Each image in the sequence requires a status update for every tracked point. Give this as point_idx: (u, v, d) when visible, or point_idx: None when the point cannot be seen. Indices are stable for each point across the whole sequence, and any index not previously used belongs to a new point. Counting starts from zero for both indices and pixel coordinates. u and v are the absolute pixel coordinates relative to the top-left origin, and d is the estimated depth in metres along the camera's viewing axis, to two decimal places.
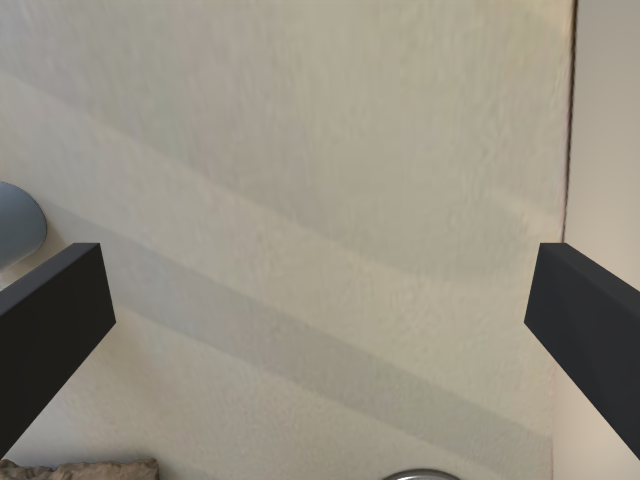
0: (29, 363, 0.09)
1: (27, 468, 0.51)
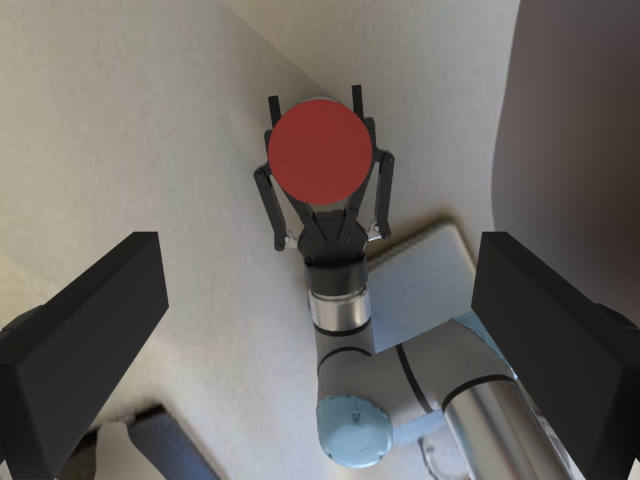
0: (110, 338, 0.10)
1: None
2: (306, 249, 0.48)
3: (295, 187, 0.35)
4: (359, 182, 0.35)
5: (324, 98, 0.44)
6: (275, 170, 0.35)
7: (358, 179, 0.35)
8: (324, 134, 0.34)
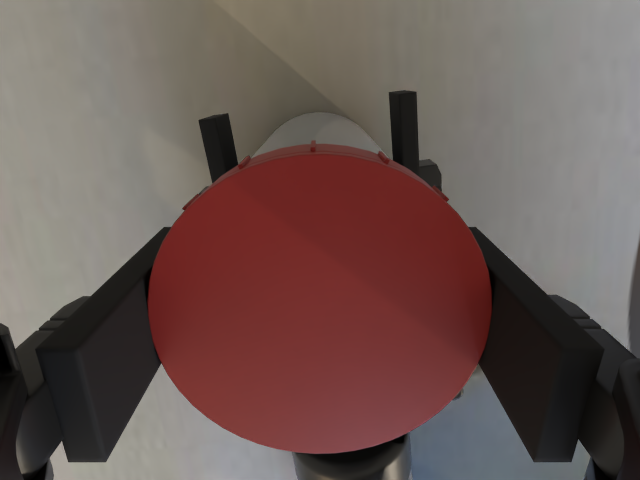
0: None
1: None
2: None
3: (243, 413, 0.11)
4: (443, 400, 0.11)
5: (329, 120, 0.20)
6: (177, 369, 0.11)
7: (441, 393, 0.11)
8: (334, 267, 0.10)
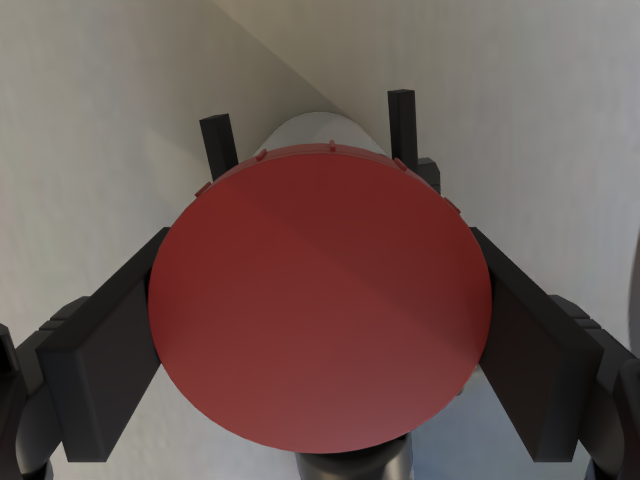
0: None
1: None
2: None
3: (459, 321, 0.10)
4: (306, 163, 0.09)
5: (329, 119, 0.20)
6: (445, 392, 0.11)
7: (300, 174, 0.09)
8: (262, 351, 0.11)
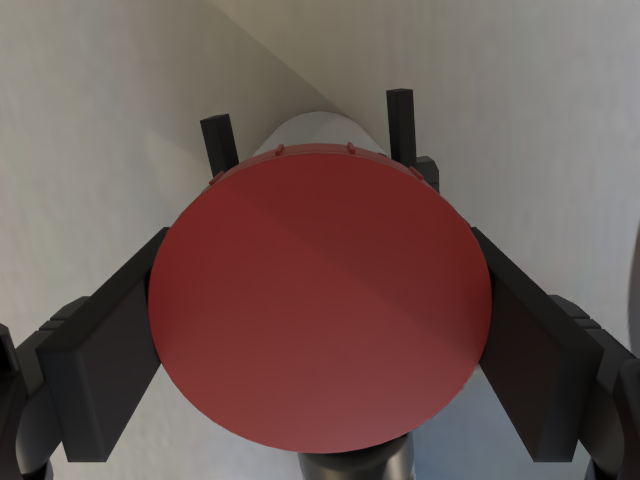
0: None
1: None
2: None
3: (219, 227, 0.09)
4: (211, 413, 0.11)
5: (328, 119, 0.20)
6: (295, 170, 0.09)
7: (221, 412, 0.11)
8: (379, 348, 0.11)
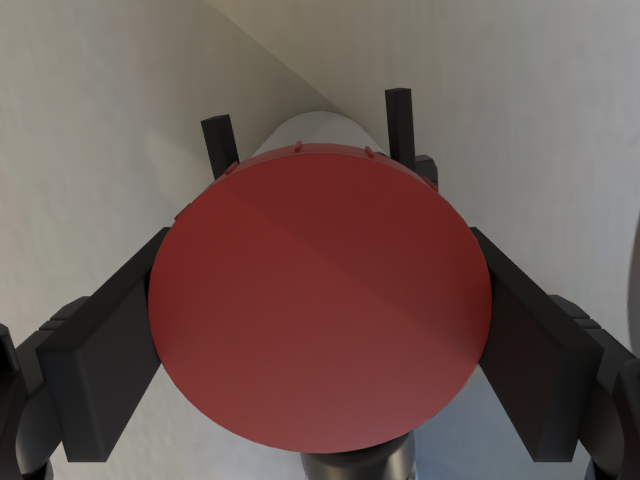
0: None
1: None
2: None
3: (298, 430, 0.12)
4: (478, 344, 0.11)
5: (327, 118, 0.21)
6: (221, 415, 0.11)
7: (471, 338, 0.11)
8: (301, 267, 0.10)
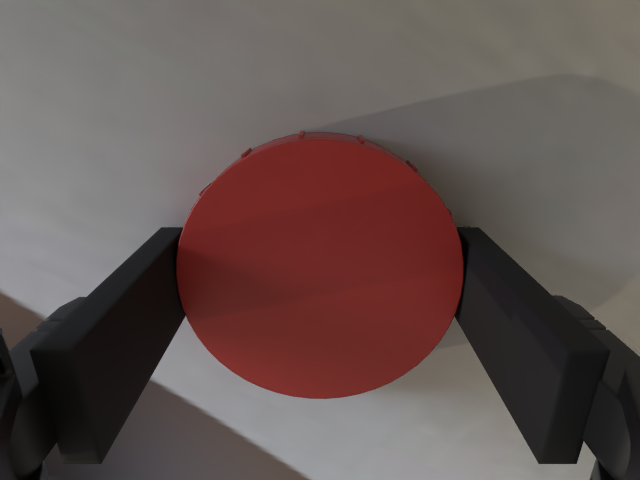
0: (146, 328, 0.10)
1: None
2: None
3: (301, 378, 0.14)
4: (453, 302, 0.13)
5: None
6: (235, 364, 0.14)
7: (447, 297, 0.13)
8: (304, 235, 0.12)
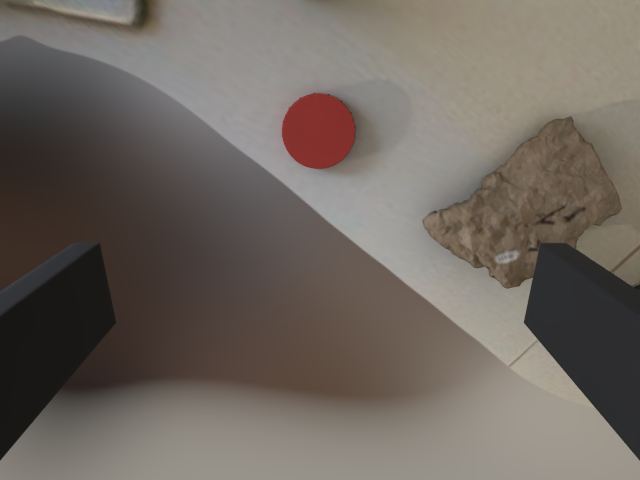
0: (29, 363, 0.09)
1: None
2: None
3: (313, 161, 0.50)
4: (352, 137, 0.49)
5: None
6: (295, 157, 0.50)
7: (351, 135, 0.49)
8: (314, 118, 0.48)
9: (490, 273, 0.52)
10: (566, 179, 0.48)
